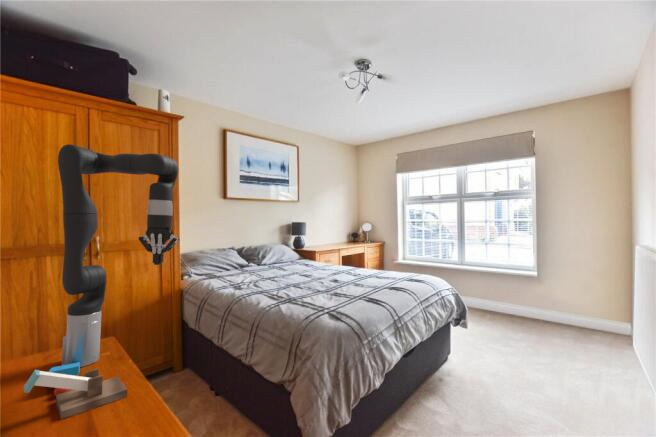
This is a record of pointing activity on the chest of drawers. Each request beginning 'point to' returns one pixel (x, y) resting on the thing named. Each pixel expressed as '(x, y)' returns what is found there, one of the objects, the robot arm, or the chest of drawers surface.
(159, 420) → the chest of drawers surface
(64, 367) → the lever
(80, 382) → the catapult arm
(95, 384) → the catapult stand
